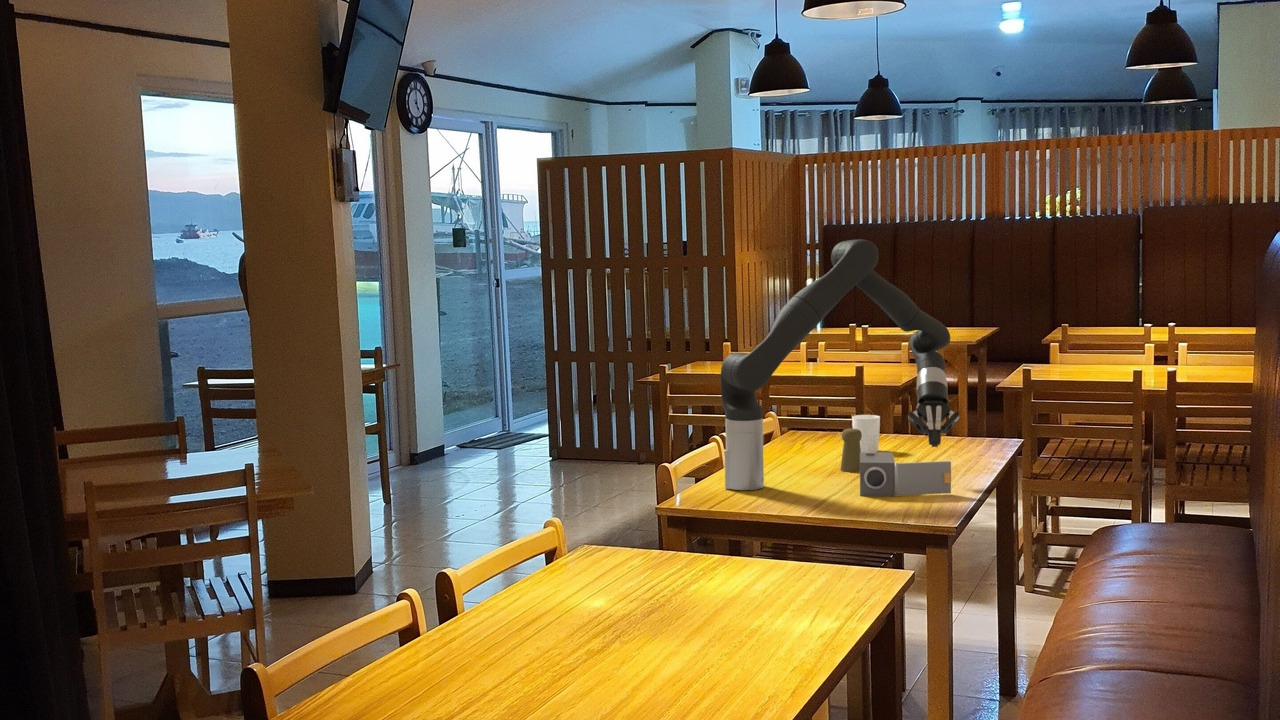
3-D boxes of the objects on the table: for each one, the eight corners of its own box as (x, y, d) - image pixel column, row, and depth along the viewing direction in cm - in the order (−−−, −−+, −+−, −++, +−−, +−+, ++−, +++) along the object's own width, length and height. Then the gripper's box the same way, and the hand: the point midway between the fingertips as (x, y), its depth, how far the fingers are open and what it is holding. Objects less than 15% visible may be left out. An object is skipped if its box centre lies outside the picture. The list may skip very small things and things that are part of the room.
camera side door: (894, 494, 279) (894, 463, 279) (949, 492, 281) (949, 461, 280) (896, 496, 278) (896, 464, 277) (951, 493, 279) (952, 462, 278)
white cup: (850, 453, 338) (850, 418, 337) (853, 448, 345) (853, 414, 344) (878, 454, 335) (878, 419, 334) (881, 449, 343) (881, 415, 342)
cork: (856, 473, 308) (856, 431, 307) (836, 471, 312) (835, 429, 311) (867, 469, 313) (867, 428, 312) (846, 467, 317) (846, 426, 316)
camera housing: (860, 496, 280) (860, 460, 279) (859, 483, 295) (859, 449, 294) (894, 497, 278) (894, 461, 278) (892, 484, 293) (892, 450, 292)
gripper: (905, 380, 299) (907, 436, 288) (959, 380, 297) (963, 436, 286) (905, 398, 305) (906, 453, 294) (958, 398, 302) (962, 454, 292)
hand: (935, 445), depth 290 cm, fingers closed
